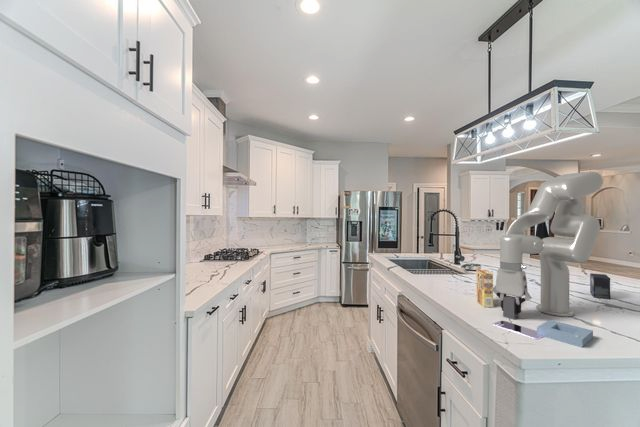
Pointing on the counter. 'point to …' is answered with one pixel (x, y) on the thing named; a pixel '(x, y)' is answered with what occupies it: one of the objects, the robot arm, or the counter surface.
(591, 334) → the blue square socket base
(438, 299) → the counter surface
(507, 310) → the block
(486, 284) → the candy box
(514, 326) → the mobile phone
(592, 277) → the small box
